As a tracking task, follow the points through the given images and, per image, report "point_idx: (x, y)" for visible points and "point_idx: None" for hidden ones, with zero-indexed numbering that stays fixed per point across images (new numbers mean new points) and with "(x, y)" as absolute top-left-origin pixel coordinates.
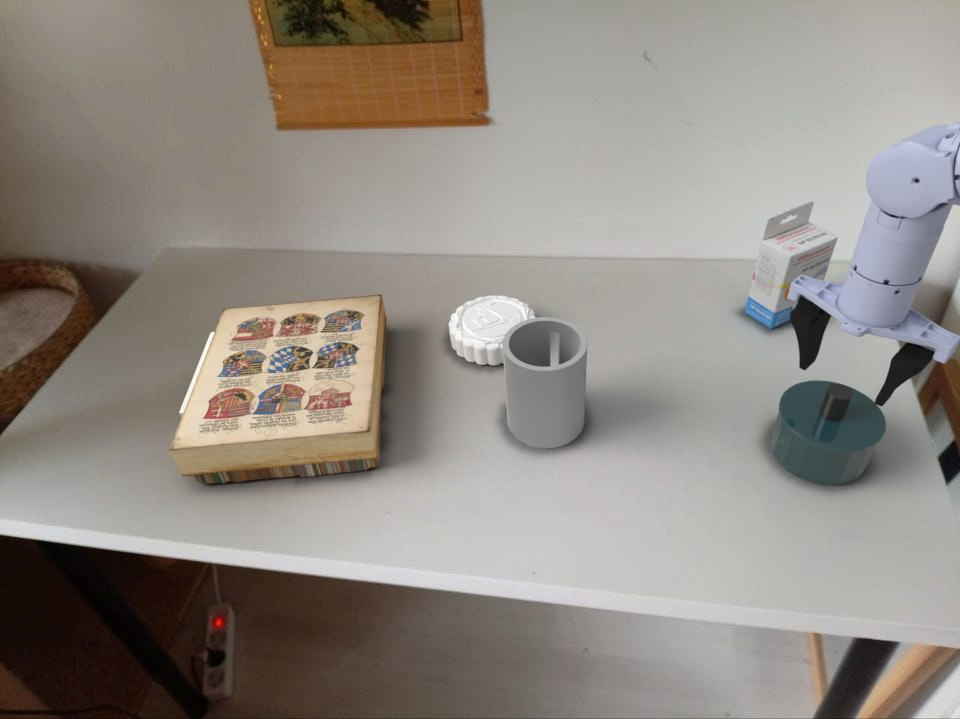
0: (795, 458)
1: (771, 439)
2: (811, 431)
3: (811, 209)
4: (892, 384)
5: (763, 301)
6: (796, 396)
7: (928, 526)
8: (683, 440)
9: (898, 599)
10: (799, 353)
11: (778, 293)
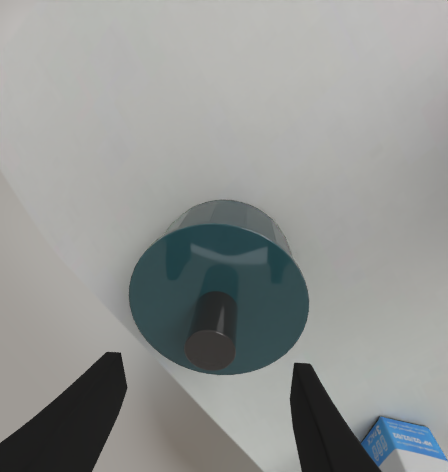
0: (230, 209)
1: (283, 235)
2: (220, 247)
3: None
4: (36, 427)
5: (423, 462)
6: (285, 309)
7: (66, 234)
8: (407, 141)
9: (15, 93)
10: (334, 406)
11: None
